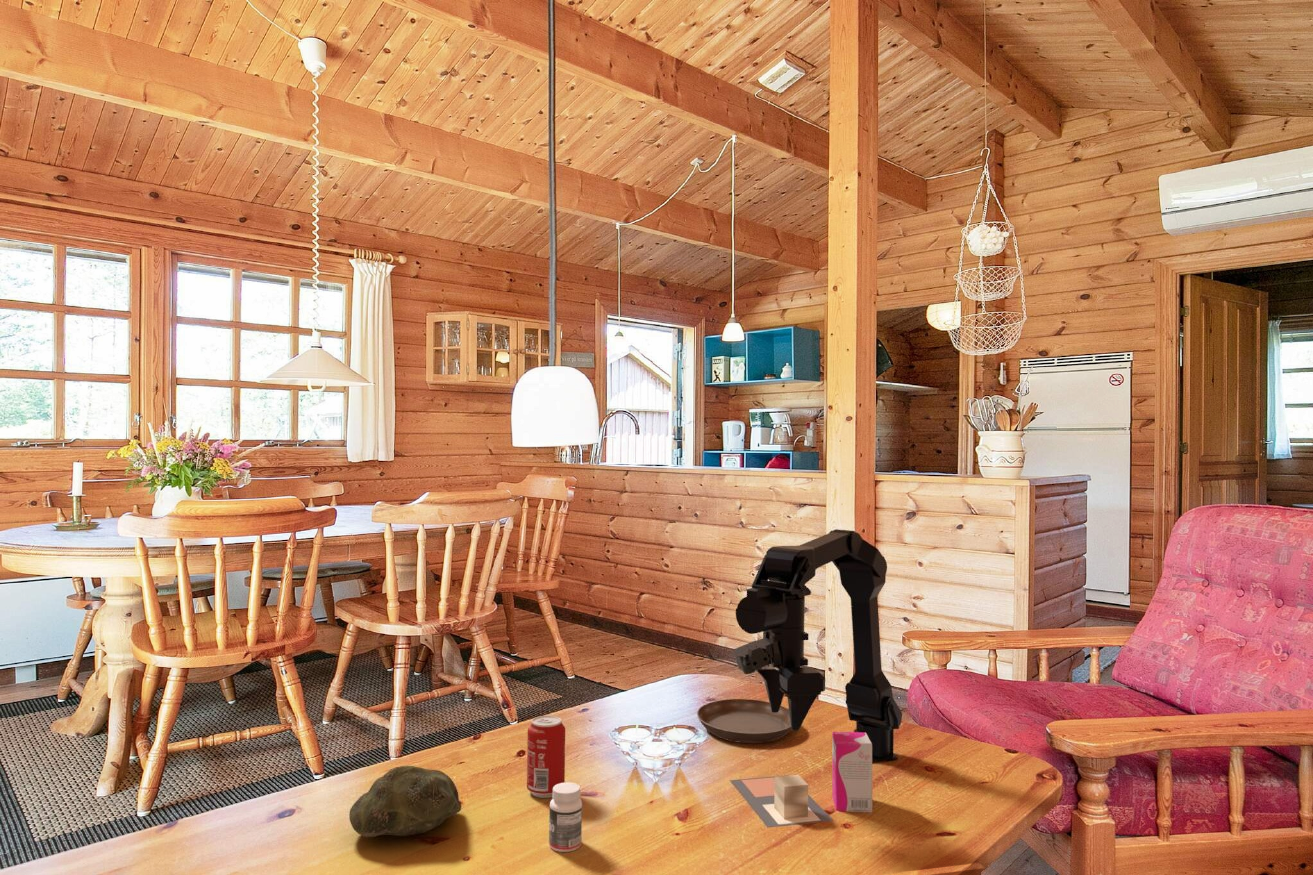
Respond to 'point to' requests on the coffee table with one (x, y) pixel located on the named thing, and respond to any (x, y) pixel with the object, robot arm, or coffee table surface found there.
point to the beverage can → (545, 755)
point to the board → (762, 802)
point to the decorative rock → (405, 803)
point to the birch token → (791, 796)
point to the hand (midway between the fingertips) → (784, 721)
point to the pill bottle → (565, 818)
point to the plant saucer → (744, 720)
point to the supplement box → (852, 772)
